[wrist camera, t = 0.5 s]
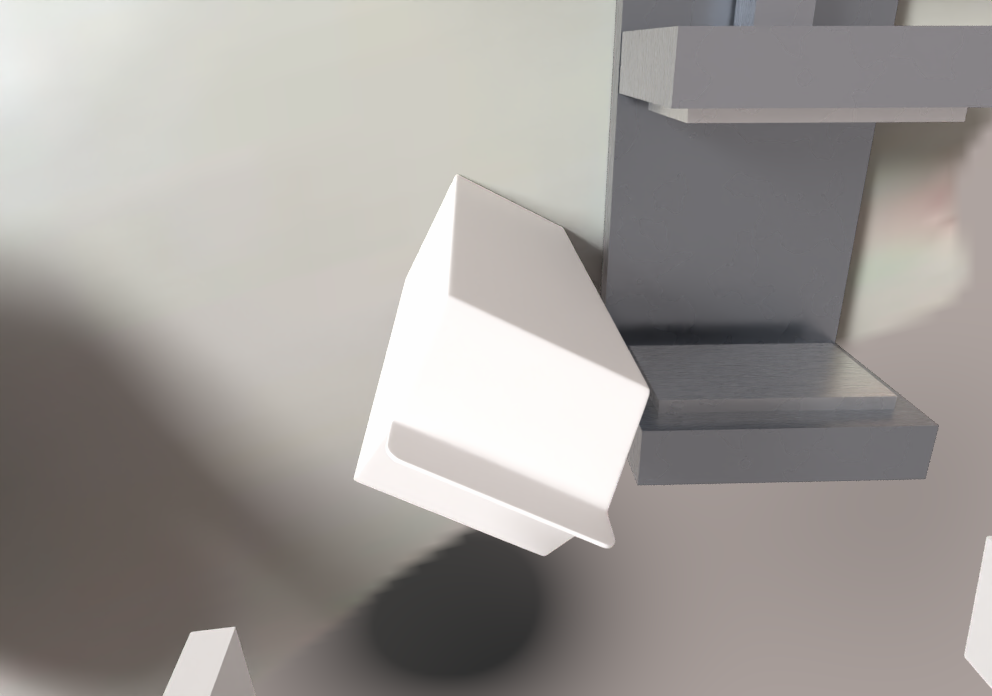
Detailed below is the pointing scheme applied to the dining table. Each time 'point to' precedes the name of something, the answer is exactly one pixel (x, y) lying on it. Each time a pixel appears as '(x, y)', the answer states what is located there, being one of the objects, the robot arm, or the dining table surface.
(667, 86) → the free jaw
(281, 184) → the dining table surface
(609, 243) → the vise base
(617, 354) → the milk
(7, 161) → the dining table surface
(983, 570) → the robot arm
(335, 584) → the dining table surface
